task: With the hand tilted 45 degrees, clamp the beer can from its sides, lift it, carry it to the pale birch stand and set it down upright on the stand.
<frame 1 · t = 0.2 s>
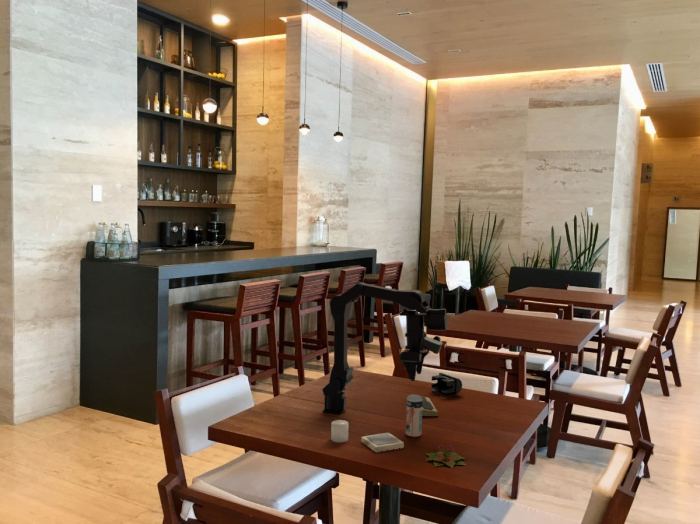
hand: (416, 377, 196), 14 cm above the table, tool pointing down, fingers open, 9 cm apart
computer: (422, 411, 210), on the table
lily flower: (445, 462, 165), on the table
white rounded cylinder: (339, 439, 179), on the table
end cap: (446, 393, 230), on the table
beer can: (413, 435, 184), on the table
stand: (382, 444, 176), on the table
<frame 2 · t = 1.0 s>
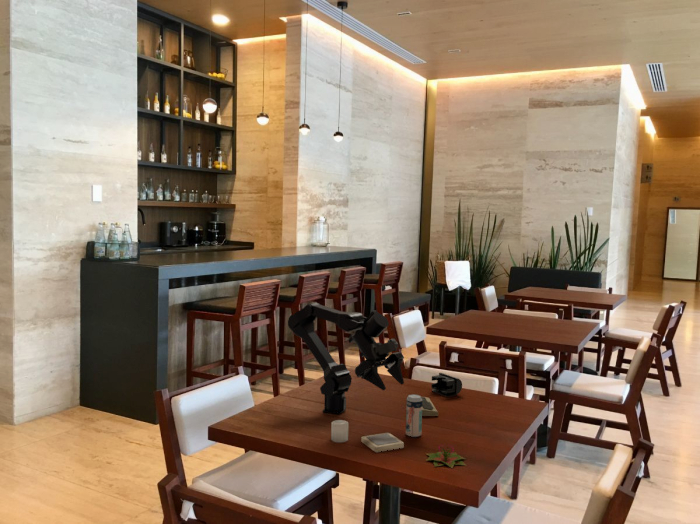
hand: (394, 386, 189), 13 cm above the table, tool tilted 45°, fingers open, 9 cm apart
nothing on the table moved.
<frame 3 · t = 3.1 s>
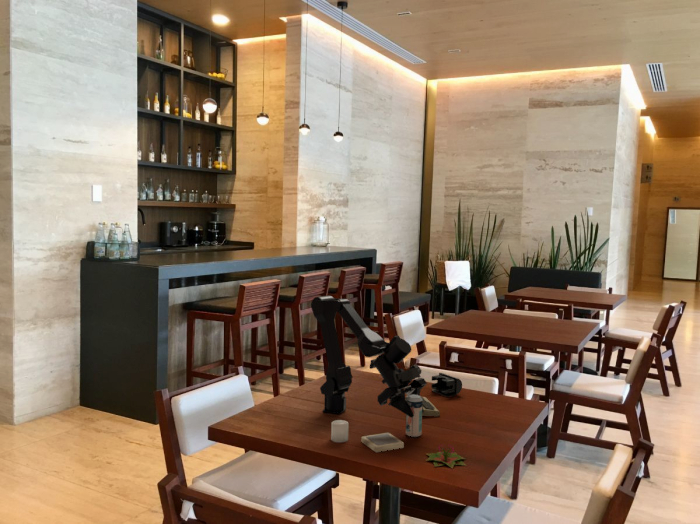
hand: (417, 414, 183), 7 cm above the table, tool tilted 45°, fingers closed on beer can, 5 cm apart
beer can: (413, 435, 184), on the table, touching gripper
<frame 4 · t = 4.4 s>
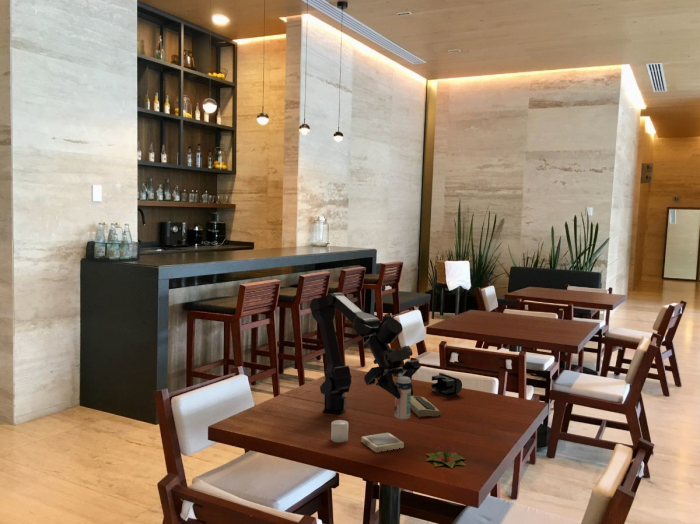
hand: (405, 396, 178), 13 cm above the table, tool tilted 45°, fingers closed on beer can, 5 cm apart
beer can: (402, 418, 180), point 6 cm above the table, touching gripper
everything else where it was.
when the fingers open (9 cm above the table, at t = 6.0 s): beer can stays where it is, resting on stand.
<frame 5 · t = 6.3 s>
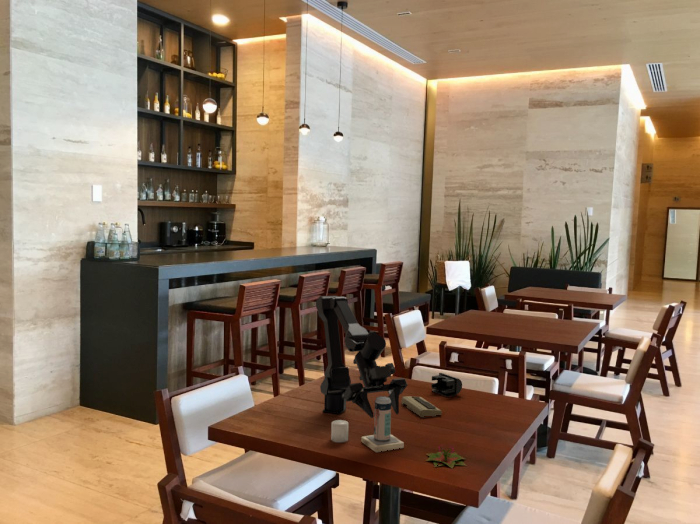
hand: (385, 415, 174), 9 cm above the table, tool tilted 45°, fingers open, 8 cm apart
beer can: (382, 439, 176), point 1 cm above the table, touching stand
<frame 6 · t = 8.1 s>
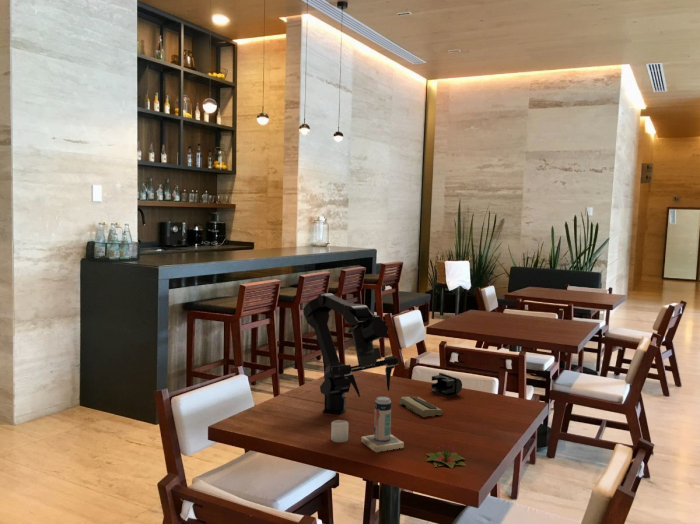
hand: (374, 393, 188), 11 cm above the table, tool tilted 20°, fingers open, 9 cm apart
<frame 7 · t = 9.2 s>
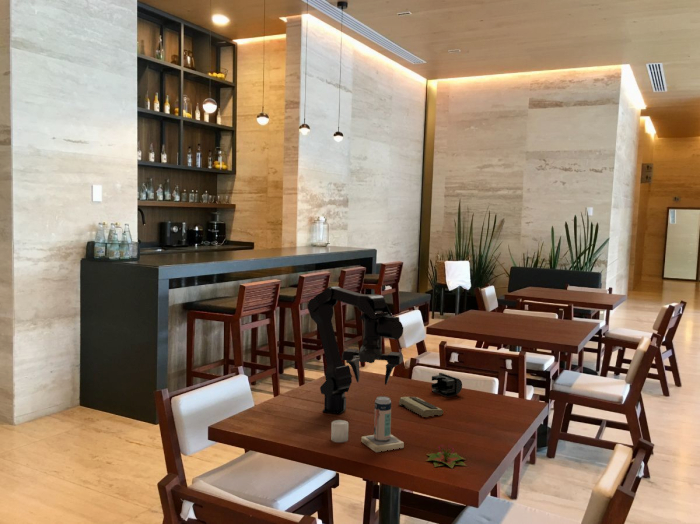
hand: (371, 383, 193), 13 cm above the table, tool pointing down, fingers open, 9 cm apart
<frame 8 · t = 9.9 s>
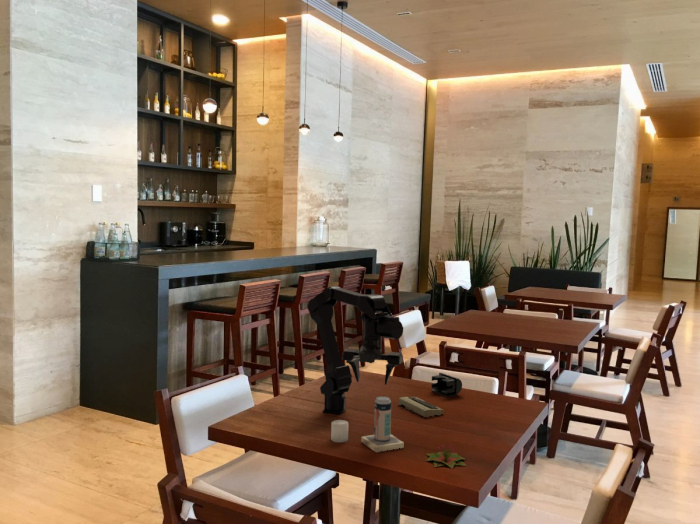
hand: (371, 383, 193), 13 cm above the table, tool pointing down, fingers open, 9 cm apart
at the end: beer can inside the target area on the stand (0.1 cm from its centre), point 1.5 cm above the stand's base; beer can tilted 0°; the gripper is holding nothing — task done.
